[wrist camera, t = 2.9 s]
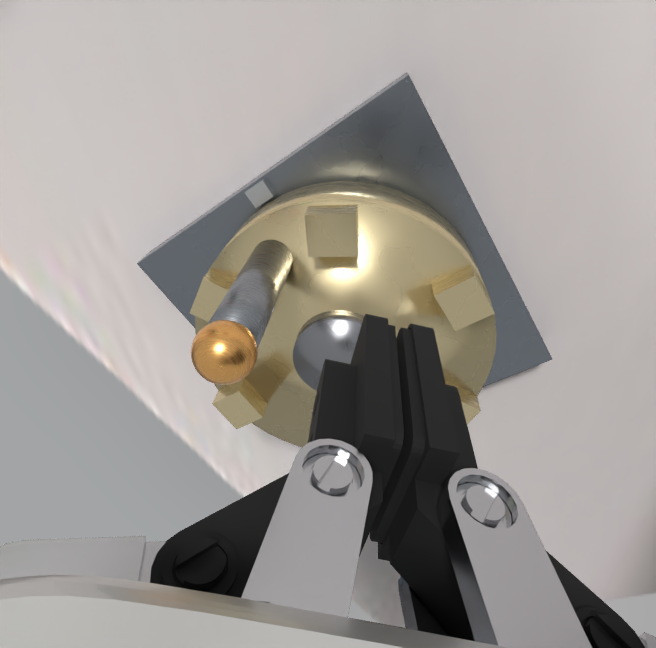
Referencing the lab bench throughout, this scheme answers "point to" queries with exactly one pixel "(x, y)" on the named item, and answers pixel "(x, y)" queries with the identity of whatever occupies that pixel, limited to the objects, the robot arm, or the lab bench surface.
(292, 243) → the brass dial with handle
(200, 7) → the lab bench surface
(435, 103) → the lab bench surface
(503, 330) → the base plate
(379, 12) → the lab bench surface
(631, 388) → the lab bench surface
